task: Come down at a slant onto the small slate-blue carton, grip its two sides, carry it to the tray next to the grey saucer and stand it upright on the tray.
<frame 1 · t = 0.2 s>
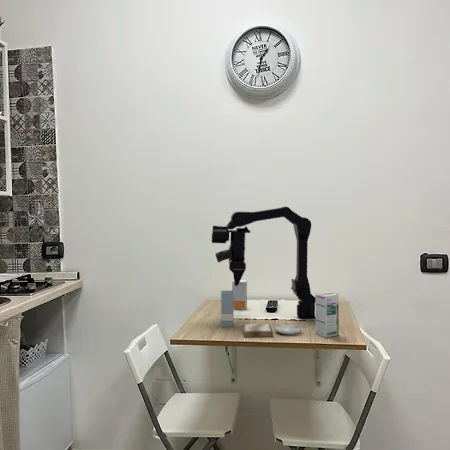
hand: (236, 282, 190), 14 cm above the table, tool pointing down, fingers open, 9 cm apart
saucer: (288, 332, 170), on the table
skincare box: (239, 308, 207), on the table
carton: (227, 324, 181), on the table
syrup box: (326, 335, 167), on the table
tray: (257, 332, 170), on the table
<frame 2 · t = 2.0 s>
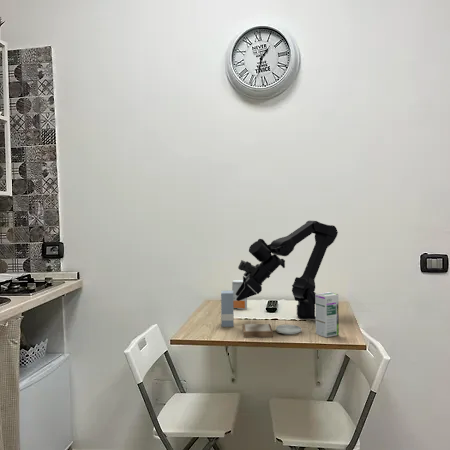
hand: (236, 297, 180), 10 cm above the table, tool tilted 45°, fingers open, 9 cm apart
nothing on the table moved.
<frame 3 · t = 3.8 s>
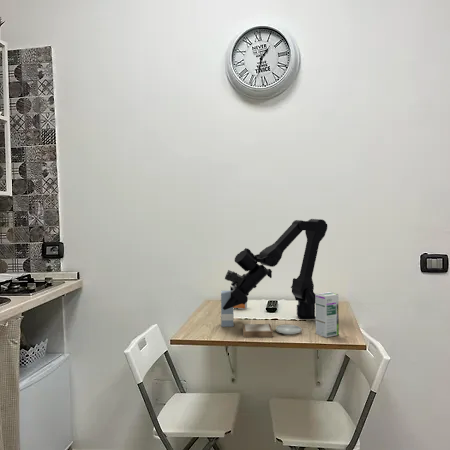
hand: (223, 307, 181), 7 cm above the table, tool tilted 45°, fingers closed on carton, 5 cm apart
carton: (227, 324, 181), on the table, touching gripper
everything else where it was.
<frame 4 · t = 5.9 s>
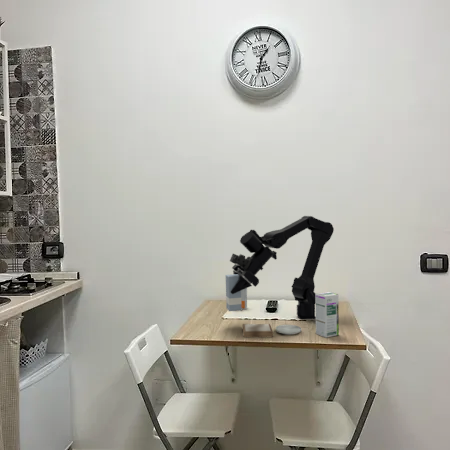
hand: (229, 291, 177), 13 cm above the table, tool tilted 45°, fingers closed on carton, 5 cm apart
carton: (233, 309, 178), point 7 cm above the table, touching gripper
everything else where it was.
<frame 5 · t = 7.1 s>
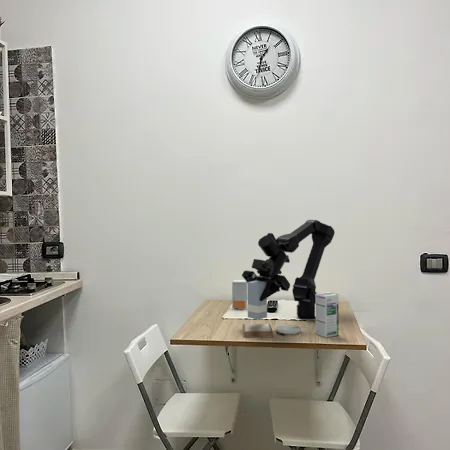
hand: (254, 299, 169), 12 cm above the table, tool tilted 45°, fingers closed on carton, 5 cm apart
carton: (257, 317, 170), point 6 cm above the table, touching gripper
everything else where it was.
when the fingers open (10 cm above the table, at t = 8.0 s): carton drops 1 cm, resting on tray.
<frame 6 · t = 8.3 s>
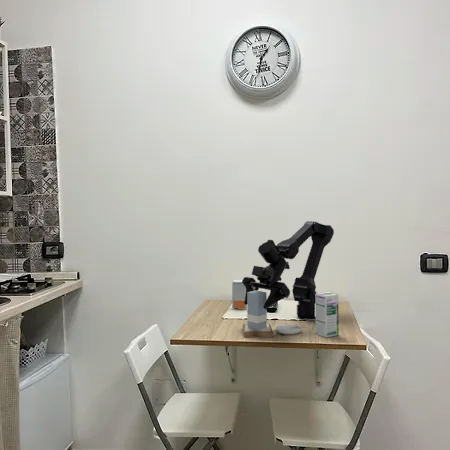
hand: (254, 306, 169), 10 cm above the table, tool tilted 45°, fingers open, 9 cm apart
carton: (257, 327, 170), point 2 cm above the table, touching tray
everything else where it was.
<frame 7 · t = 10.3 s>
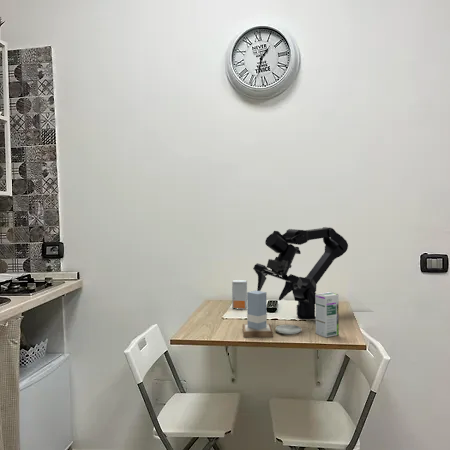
hand: (268, 296, 179), 11 cm above the table, tool tilted 35°, fingers open, 9 cm apart
nothing on the table moved.
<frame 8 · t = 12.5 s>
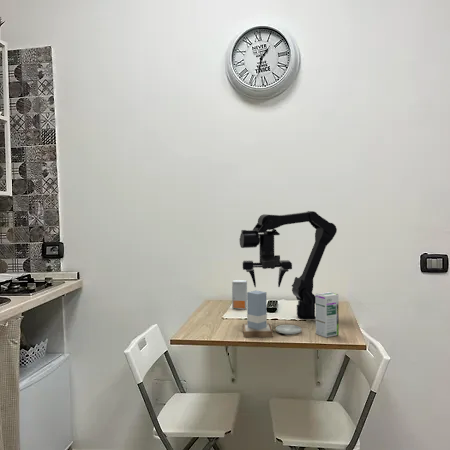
hand: (267, 287, 186), 13 cm above the table, tool pointing down, fingers open, 9 cm apart
nothing on the table moved.
at the end: carton inside the target area on the tray (0.1 cm from its centre), point 2.0 cm above the tray's base; carton tilted 0°; the gripper is holding nothing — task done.
